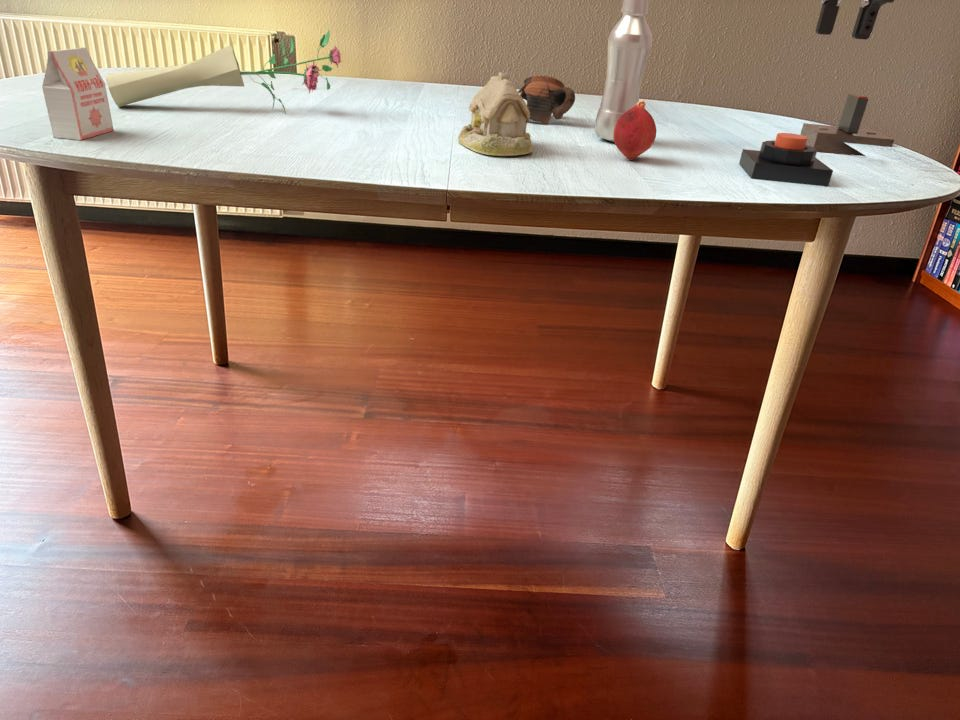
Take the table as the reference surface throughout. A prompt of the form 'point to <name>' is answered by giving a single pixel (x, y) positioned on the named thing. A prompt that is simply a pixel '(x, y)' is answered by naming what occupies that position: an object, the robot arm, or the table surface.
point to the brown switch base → (842, 139)
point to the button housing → (785, 165)
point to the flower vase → (205, 75)
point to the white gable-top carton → (75, 95)
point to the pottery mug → (546, 98)
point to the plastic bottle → (624, 66)
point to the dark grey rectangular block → (853, 113)
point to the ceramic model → (498, 120)
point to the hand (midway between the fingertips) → (840, 36)
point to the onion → (635, 131)
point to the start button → (791, 141)
